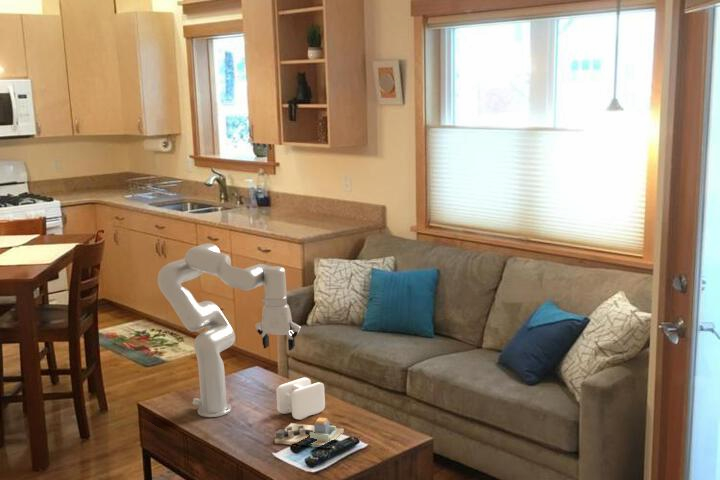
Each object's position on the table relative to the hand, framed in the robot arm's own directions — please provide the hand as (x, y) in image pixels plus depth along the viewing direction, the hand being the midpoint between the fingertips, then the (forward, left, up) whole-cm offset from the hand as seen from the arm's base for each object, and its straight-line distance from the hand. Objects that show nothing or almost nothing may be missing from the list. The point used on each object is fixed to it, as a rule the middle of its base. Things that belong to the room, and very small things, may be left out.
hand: (278, 348), depth 279 cm
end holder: (+19, -9, -27) cm, 34 cm away
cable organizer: (+3, +10, -29) cm, 30 cm away
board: (+14, -9, -28) cm, 33 cm away
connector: (+19, -9, -27) cm, 34 cm away
